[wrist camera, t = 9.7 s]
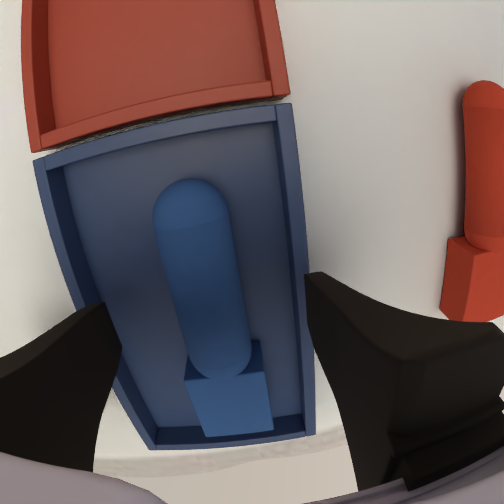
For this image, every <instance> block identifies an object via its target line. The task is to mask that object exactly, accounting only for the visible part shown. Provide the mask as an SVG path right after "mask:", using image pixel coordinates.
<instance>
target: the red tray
mask: <svg viewBox="0 0 504 504" xmlns="http://www.w3.org/2000/svg"><path fill="white" fill-rule="evenodd" d="M21 62H22V81H23V94H24V104H25V113H26V121H27V129H28V136H29V142H30V148H31V153H36V152H41V151H46V150H52V149H56V148H59V147H62V146H65V145H68V144H71V143H74V142H77V141H80V140H83V139H86V138H90V137H93V136H96V135H100V134H103V133H107V132H110V131H114V130H118V129H121V128H125V127H129V126H133V125H137V124H141V123H145V122H149V121H153V120H158V119H162V118H167V117H172V116H176V115H181V114H186V113H192V112H197V111H203V110H208V109H214V108H220V107H227V106H234V105H241V104H248V103H256V102H264V101H274V100H282V99H283V98H284V97H286V96H288V95H289V94H290V88H289V82H288V75H287V69H286V62H285V56H284V50H283V44H282V38H281V32H280V27H279V21H278V16H277V10H276V5H275V0H22V16H21Z"/></svg>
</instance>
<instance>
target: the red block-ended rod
mask: <svg viewBox="0 0 504 504" xmlns="http://www.w3.org/2000/svg"><path fill="white" fill-rule="evenodd" d="M463 117H464V131H465V152H466V197H465V218H464V232H465V236H461V237H456V238H450V239H448V247H447V258H446V267H445V276H444V284H443V291H442V298H441V304H440V310H441V311H442V312H443V314H444V315H445V316H446V317H447V318H448V319H449V320H454V321H464V322H487V321H490V320H493V319H495V318H498V317H500V316H503V315H504V89H503V88H502V87H501V86H499V85H498V84H496V83H494V82H491V81H485V80H482V81H477V82H475V83H473V84H471V85H470V86H469V87H468V88H467V90H466V91H465V94H464V97H463Z"/></svg>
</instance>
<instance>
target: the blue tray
mask: <svg viewBox="0 0 504 504" xmlns="http://www.w3.org/2000/svg"><path fill="white" fill-rule="evenodd" d="M33 166H34V171H35V176H36V181H37V185H38V190H39V194H40V198H41V202H42V206H43V210H44V214H45V218H46V222H47V225H48V229H49V232H50V236H51V239H52V242H53V246H54V249H55V252H56V255H57V258H58V261H59V264H60V267H61V270H62V273H63V276H64V279H65V282H66V284H67V287H68V290H69V292H70V295H71V298H72V300H73V303H74V305H75V308H76V310H77V311H78V310H80V309H81V308H83V307H85V306H87V305H89V304H91V303H100V302H105V303H106V306H107V309H108V311H109V314H110V317H111V319H112V322H113V324H114V327H115V330H116V332H117V334H118V337H119V339H120V342H121V344H122V352H121V358H120V362H119V367H118V370H117V373H116V376H115V379H114V382H113V385H112V388H113V390H114V392H115V393H116V395H117V397H118V399H119V401H120V403H121V404H122V406H123V408H124V410H125V411H126V413H127V415H128V417H129V418H130V420H131V422H132V423H133V425H134V427H135V428H136V430H137V432H138V433H139V435H140V436H141V438H142V440H143V441H144V443H145V444H146V446H147V447H148V449H149V450H190V449H210V448H224V447H235V446H245V445H254V444H262V443H269V442H276V441H283V440H289V439H295V438H301V437H305V436H311V435H315V434H316V412H315V369H314V347H313V343H312V340H311V336H310V332H309V329H308V325H307V312H306V298H305V284H304V274H309V260H308V247H307V235H306V224H305V213H304V203H303V193H302V183H301V174H300V165H299V157H298V148H297V140H296V132H295V124H294V117H293V110H292V104H291V103H284V104H276V105H265V106H256V107H249V108H241V109H234V110H227V111H221V112H215V113H209V114H203V115H198V116H192V117H187V118H182V119H177V120H172V121H167V122H163V123H158V124H154V125H149V126H145V127H141V128H137V129H133V130H129V131H125V132H121V133H117V134H114V135H110V136H107V137H103V138H100V139H96V140H93V141H89V142H86V143H83V144H80V145H76V146H73V147H70V148H67V149H64V150H61V151H58V152H55V153H52V154H50V155H47V156H45V157H41V158H38V159H36V160H33ZM183 179H199V180H202V181H205V182H207V183H209V184H211V185H213V186H214V187H215V188H216V189H217V190H218V191H219V192H220V193H221V194H222V196H223V198H224V200H225V202H226V204H227V208H228V212H229V218H230V224H231V230H232V236H233V242H234V248H235V254H236V260H237V266H238V272H239V278H240V283H241V289H242V295H243V301H244V306H245V312H246V317H247V323H248V329H249V334H250V340H251V341H256V340H260V341H261V348H262V354H263V360H264V366H265V372H266V379H267V385H268V391H269V397H270V404H271V411H272V418H273V425H274V430H270V431H262V432H255V433H246V434H237V435H227V436H215V437H206V436H205V434H204V431H203V429H202V427H201V424H200V422H199V419H198V417H197V414H196V412H195V409H194V407H193V404H192V402H191V399H190V397H189V394H188V392H187V389H186V386H185V384H184V374H185V368H186V362H187V356H188V351H187V348H186V345H185V342H184V339H183V335H182V332H181V329H180V326H179V322H178V319H177V315H176V312H175V309H174V305H173V302H172V298H171V294H170V291H169V287H168V284H167V280H166V276H165V272H164V268H163V265H162V261H161V257H160V253H159V249H158V245H157V241H156V236H155V232H154V228H153V221H152V213H153V208H154V204H155V202H156V200H157V198H158V196H159V195H160V194H161V192H162V191H163V190H164V189H165V188H166V187H168V186H169V185H170V184H172V183H174V182H176V181H179V180H183Z"/></svg>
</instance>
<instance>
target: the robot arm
mask: <svg viewBox="0 0 504 504" xmlns="http://www.w3.org/2000/svg"><path fill="white" fill-rule="evenodd" d="M304 284H305V298H306V312H307V325H308V329H309V332H310V336H311V340H312V343H313V347H314V349H315V352H316V354H317V356H318V359H319V361H320V363H321V366H322V368H323V370H324V373H325V375H326V377H327V380H328V382H329V384H330V387H331V389H332V391H333V394H334V396H335V399H336V402H337V405H338V409H339V412H340V416H341V419H342V423H343V426H344V430H345V434H346V438H347V442H348V446H349V450H350V454H351V459H352V463H353V467H354V472H355V477H356V482H357V487H358V492H355V493H351V494H347V495H343V496H338V497H335V498H330V499H325V500H320V501H315V502H310V503H304V504H504V414H503V413H502V410H504V402H503V400H502V399H501V398H500V397H499V395H500V393H501V390H502V388H503V386H504V333H503V332H502V331H501V330H500V329H499V328H498V327H497V326H496V325H495V324H494V323H493V322H464V321H454V320H446V319H439V318H433V317H427V316H423V315H419V314H415V313H411V312H407V311H404V310H400V309H398V308H395V307H392V306H389V305H386V304H383V303H381V302H379V301H376V300H374V299H372V298H370V297H368V296H365V295H363V294H361V293H359V292H357V291H355V290H354V289H352V288H350V287H348V286H346V285H345V284H343V283H341V282H339V281H338V280H336V279H334V278H332V277H331V276H329V275H327V274H325V273H323V272H315V273H309V274H304ZM121 352H122V344H121V342H120V339H119V337H118V334H117V332H116V330H115V327H114V324H113V322H112V319H111V317H110V314H109V311H108V309H107V306H106V303H105V302H100V303H91V304H89V305H87V306H85V307H83V308H81V309H80V310H78V311H76V312H75V313H73V314H72V315H70V316H69V317H67V318H66V319H64V320H63V321H62V322H60V323H59V324H57V325H56V326H54V327H53V328H51V329H50V330H48V331H47V332H45V333H44V334H42V335H41V336H39V337H38V338H36V339H35V340H33V341H31V342H30V343H28V344H26V345H25V346H23V347H21V348H19V349H17V350H16V351H14V352H12V353H10V354H8V355H6V356H3V357H1V358H0V504H167V503H166V502H164V501H163V500H162V499H160V498H158V497H157V496H156V495H154V494H153V493H151V492H150V491H148V490H145V489H143V488H140V487H138V486H135V485H133V484H130V483H128V482H125V481H123V480H120V479H117V478H112V477H109V476H104V475H100V474H96V473H93V462H94V454H95V446H96V440H97V434H98V429H99V424H100V420H101V416H102V413H103V410H104V407H105V404H106V402H107V399H108V396H109V393H110V390H111V388H112V385H113V382H114V379H115V376H116V373H117V370H118V367H119V362H120V358H121Z"/></svg>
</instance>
